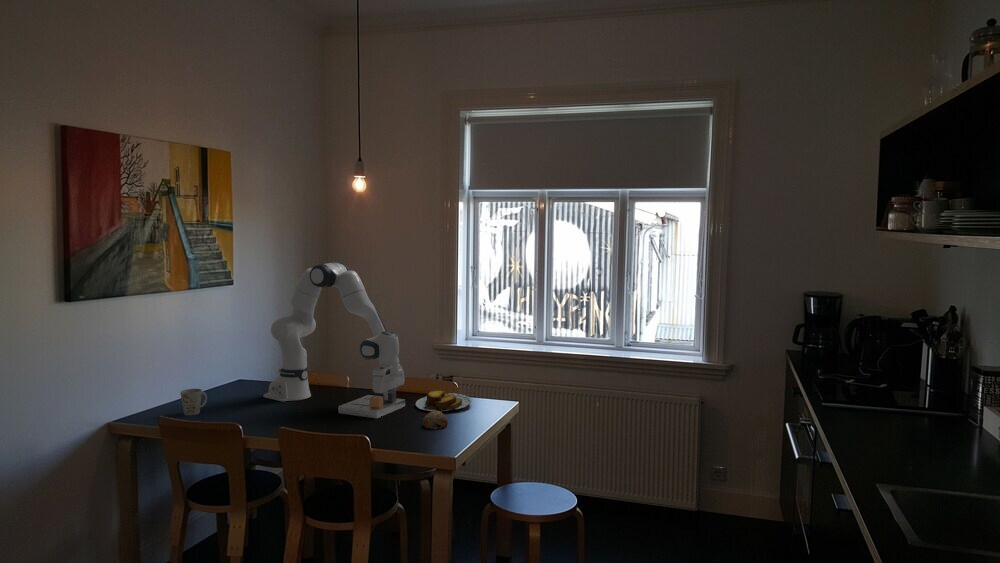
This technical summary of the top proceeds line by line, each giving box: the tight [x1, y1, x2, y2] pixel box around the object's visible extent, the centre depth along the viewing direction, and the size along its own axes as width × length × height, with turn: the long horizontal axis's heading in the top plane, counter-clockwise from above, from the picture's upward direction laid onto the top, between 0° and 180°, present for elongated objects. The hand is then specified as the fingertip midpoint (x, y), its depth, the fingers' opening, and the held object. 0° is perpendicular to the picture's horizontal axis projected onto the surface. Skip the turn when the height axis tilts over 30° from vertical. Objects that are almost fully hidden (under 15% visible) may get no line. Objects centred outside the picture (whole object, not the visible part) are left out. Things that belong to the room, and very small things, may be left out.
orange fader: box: [369, 395, 383, 408], centre depth 287 cm, size 5×3×4 cm, turn 66°
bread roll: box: [422, 411, 449, 430], centre depth 269 cm, size 10×10×8 cm
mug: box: [180, 388, 208, 416], centre depth 288 cm, size 8×13×10 cm, turn 160°
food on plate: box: [415, 390, 472, 413], centre depth 300 cm, size 25×25×7 cm
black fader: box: [382, 390, 397, 403], centre depth 296 cm, size 5×3×4 cm, turn 66°
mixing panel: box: [337, 394, 406, 419], centre depth 294 cm, size 20×22×3 cm
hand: (389, 398), depth 296 cm, fingers closed on black fader, 3 cm apart
